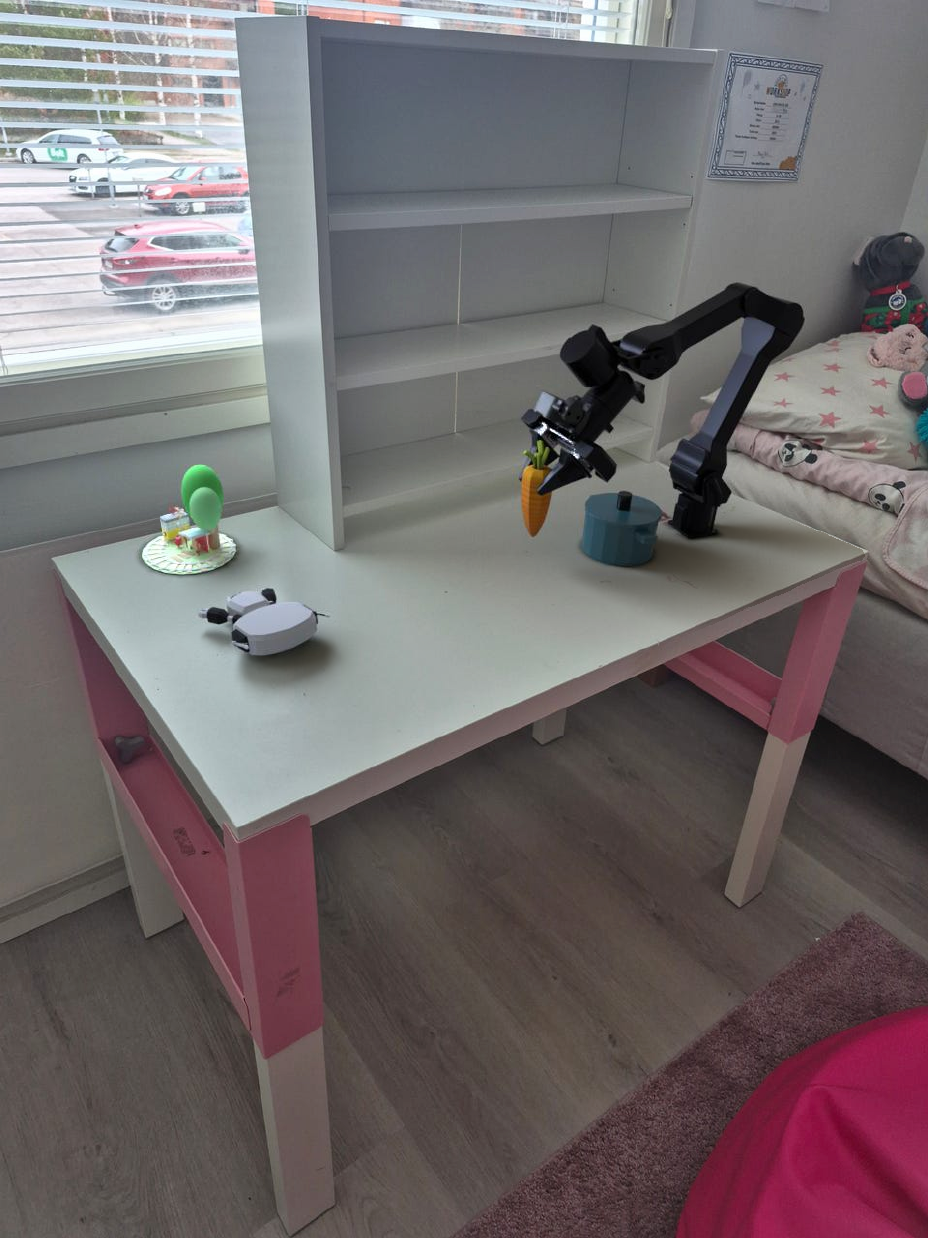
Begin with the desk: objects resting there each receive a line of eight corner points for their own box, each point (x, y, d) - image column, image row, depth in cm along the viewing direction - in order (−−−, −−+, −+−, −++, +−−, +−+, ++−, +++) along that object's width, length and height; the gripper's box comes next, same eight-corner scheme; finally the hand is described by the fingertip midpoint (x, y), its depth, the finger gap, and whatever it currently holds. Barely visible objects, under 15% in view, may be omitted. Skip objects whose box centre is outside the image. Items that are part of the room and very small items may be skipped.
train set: (125, 455, 130) (220, 447, 134) (138, 536, 137) (228, 525, 141) (132, 493, 118) (236, 483, 123) (146, 580, 125) (244, 567, 130)
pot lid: (634, 495, 144) (637, 475, 143) (676, 525, 135) (680, 504, 133) (570, 503, 140) (572, 482, 138) (608, 535, 131) (611, 513, 129)
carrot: (539, 546, 130) (548, 452, 122) (510, 538, 132) (517, 444, 124) (554, 535, 134) (564, 442, 126) (526, 526, 136) (534, 435, 128)
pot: (620, 524, 149) (625, 486, 146) (675, 568, 136) (683, 528, 133) (561, 532, 145) (566, 494, 142) (612, 578, 132) (619, 538, 129)
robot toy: (194, 632, 115) (253, 676, 106) (189, 602, 113) (248, 644, 104) (274, 603, 123) (335, 642, 113) (270, 574, 121) (332, 611, 111)
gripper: (536, 354, 128) (467, 435, 130) (610, 390, 114) (532, 480, 116) (575, 400, 136) (509, 476, 137) (648, 439, 122) (575, 523, 123)
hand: (529, 487), depth 128 cm, fingers closed on carrot, 5 cm apart
